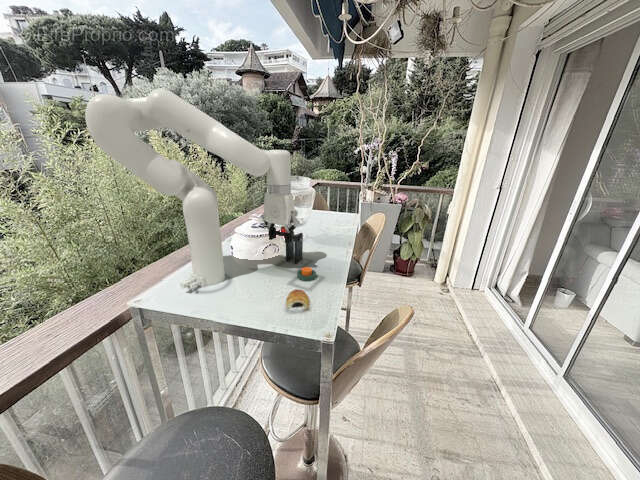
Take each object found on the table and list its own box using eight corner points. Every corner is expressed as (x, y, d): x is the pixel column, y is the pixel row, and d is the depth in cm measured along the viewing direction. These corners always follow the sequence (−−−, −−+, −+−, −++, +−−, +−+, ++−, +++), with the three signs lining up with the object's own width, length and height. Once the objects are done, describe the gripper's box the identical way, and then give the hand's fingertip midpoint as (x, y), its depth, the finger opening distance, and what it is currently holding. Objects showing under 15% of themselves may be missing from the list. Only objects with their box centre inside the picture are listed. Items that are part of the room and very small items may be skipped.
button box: (309, 290, 87) (309, 281, 86) (289, 283, 90) (288, 275, 89) (323, 277, 95) (323, 270, 94) (304, 272, 99) (304, 264, 98)
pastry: (287, 294, 84) (287, 284, 82) (308, 294, 84) (308, 284, 83) (286, 312, 75) (286, 301, 74) (309, 312, 76) (310, 300, 74)
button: (308, 277, 90) (308, 272, 89) (299, 274, 91) (299, 269, 91) (313, 272, 93) (313, 268, 92) (304, 270, 94) (304, 266, 94)
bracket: (295, 272, 98) (295, 240, 94) (275, 266, 102) (275, 235, 97) (311, 261, 108) (312, 231, 104) (292, 256, 112) (292, 227, 108)
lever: (285, 238, 90) (287, 231, 90) (271, 234, 93) (272, 228, 93) (301, 242, 101) (303, 236, 101) (288, 239, 104) (290, 233, 104)
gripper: (251, 188, 87) (254, 239, 94) (295, 194, 80) (295, 249, 86) (265, 185, 94) (267, 233, 100) (307, 190, 86) (306, 242, 93)
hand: (280, 240), depth 93 cm, fingers closed on lever, 6 cm apart
